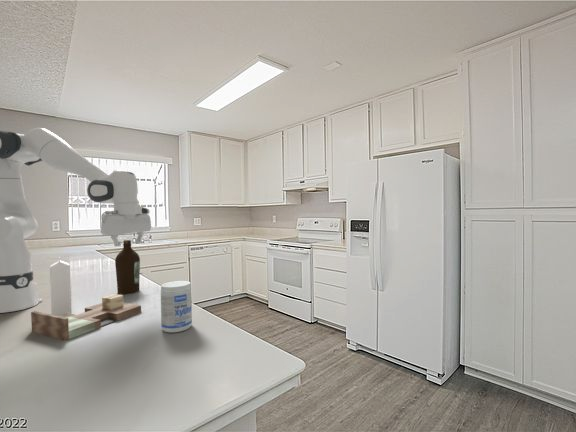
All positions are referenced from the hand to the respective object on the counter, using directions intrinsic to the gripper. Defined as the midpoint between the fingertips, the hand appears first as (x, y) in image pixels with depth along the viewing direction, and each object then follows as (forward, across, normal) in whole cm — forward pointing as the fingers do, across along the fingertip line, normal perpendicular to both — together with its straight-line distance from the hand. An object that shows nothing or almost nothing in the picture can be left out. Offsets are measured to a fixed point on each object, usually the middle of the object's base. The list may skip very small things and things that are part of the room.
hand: (128, 244), depth 121 cm
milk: (+25, -16, +18) cm, 35 cm away
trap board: (+25, -16, 0) cm, 30 cm away
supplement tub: (+26, -10, -34) cm, 44 cm away
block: (+23, -8, 0) cm, 24 cm away
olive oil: (+26, +16, +22) cm, 38 cm away
